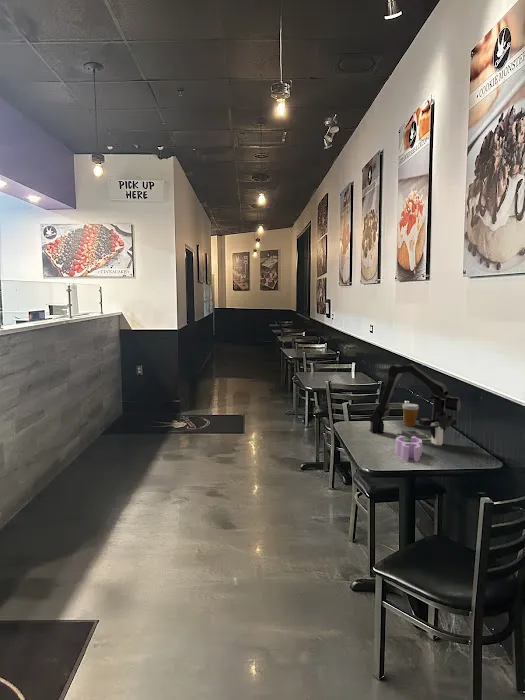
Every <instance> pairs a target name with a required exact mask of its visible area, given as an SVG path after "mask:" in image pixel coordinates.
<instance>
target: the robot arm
mask: <svg viewBox="0 0 525 700" xmlns="http://www.w3.org/2000/svg"><path fill="white" fill-rule="evenodd" d="M403 373H409V374H411V375H413V377H415V378H416V379H417V380H419V381H420V382H421V383H423V384H424V385H425V386H426V387H427V388H428V389H429V391H430V392H431V393H432V395H431V396H430V397H429V396H428V397H429V398H428V399H430V400H432V409H431V412H432V415H431V416H430V419H429V418H427V417H423V418H422V417H421V418H419V420H418V425H421V426H423V427H427V428H428V429H429V432H430V434H431V437H433V438H435V428H436V424H437V425H438V427H440V428H442V429H443V434H444V433H445V431H446V430H447V428H450V427H451V426H457V425H458V420H457V419H456V418H454V416H453V415H447V411H446V410H449V411H454V412H460V410H461V406H462V404H461V400H460V397H458V396H457V397H453V396H451V394H450V393H449V390H448V387H447V385H445V383H443V382H440V381H438V380H435V379H433V378H432V377H431V376H430V375H428V374H427V373H426V372H424V371H422V369H420V368H419V367H417V366H416V365H415V364H414V363H410V364H405V365H401V364H393V365H390V366H389V368H388V371H387V379H388V380H387V382H386V385H385V386H384V387H385V388H384V391H383V394H382V396H381V400H380V402H379V403H378V405H377V407H375V409H374V410H373V413H372V414H371V416H369V417H368V420H369V422H370V427H369V428H370V429H369V432H371V433H372V434H385V423H384V421H385V419H386V418H388V416H390V412H391V410H392V409H391V408H390V407H389V404H390V401H391V399H392V395H393V393H394V390H395V388H396V385H397V383H398V381H399V379H400V378H401V377H402V375H403ZM445 409H446V410H445ZM450 425H451V426H450Z"/></svg>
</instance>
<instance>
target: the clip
mask: <svg viewBox="0 0 525 700" xmlns="http://www.w3.org/2000/svg"><path fill="white" fill-rule="evenodd" d="M404 439H405V437H404V436H401V435H400V436H399V437H397V436H396V438H395V444H394V445H395V448H394V449H395V450H394V453H395V454H396V455H397V454H398V456H400V455H401V456H400V458H401V460H402V459H403V460H402V461H404V460H405V461H404V462H409V458H411V457H414V458H413V462H414V461H418V462H419V460H421V459H420V458H421V456H423V441H422V440H421V439H419V438H416V436H413V437H411V441H410V442H409V441H404Z"/></svg>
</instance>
